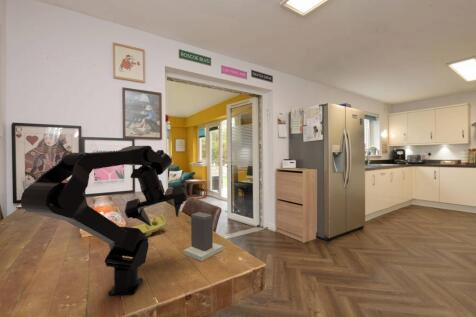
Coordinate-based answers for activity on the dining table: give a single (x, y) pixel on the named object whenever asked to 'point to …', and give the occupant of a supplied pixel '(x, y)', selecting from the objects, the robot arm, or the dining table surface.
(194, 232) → the block
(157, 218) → the plastic component
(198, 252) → the board
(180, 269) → the dining table surface
